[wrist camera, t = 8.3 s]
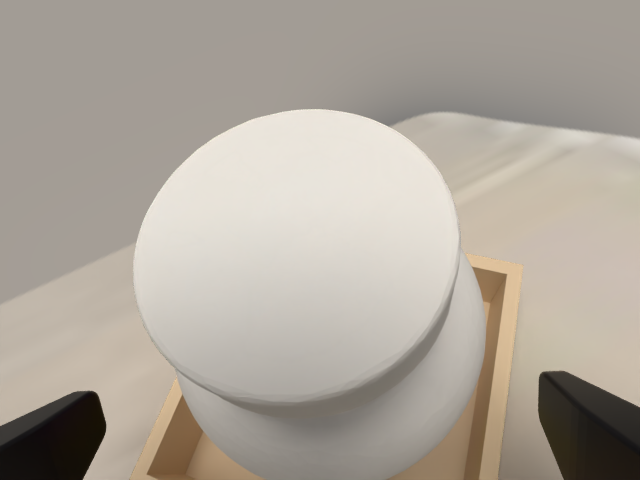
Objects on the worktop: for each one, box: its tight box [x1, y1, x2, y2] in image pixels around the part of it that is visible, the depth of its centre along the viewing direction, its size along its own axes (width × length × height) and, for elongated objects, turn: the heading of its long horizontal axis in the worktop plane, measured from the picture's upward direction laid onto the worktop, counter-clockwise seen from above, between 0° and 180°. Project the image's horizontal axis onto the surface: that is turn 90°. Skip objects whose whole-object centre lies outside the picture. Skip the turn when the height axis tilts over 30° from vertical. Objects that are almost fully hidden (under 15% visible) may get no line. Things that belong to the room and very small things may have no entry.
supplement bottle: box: [133, 109, 486, 480], centre depth 11 cm, size 7×7×13 cm
